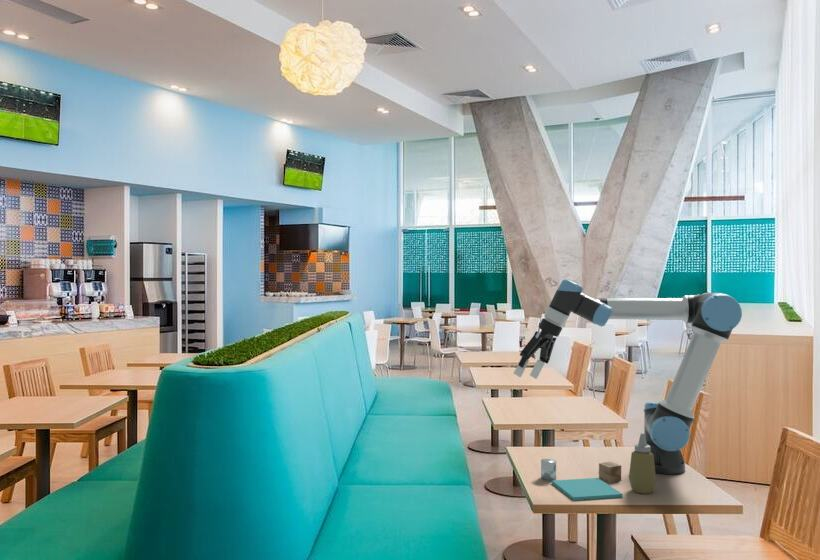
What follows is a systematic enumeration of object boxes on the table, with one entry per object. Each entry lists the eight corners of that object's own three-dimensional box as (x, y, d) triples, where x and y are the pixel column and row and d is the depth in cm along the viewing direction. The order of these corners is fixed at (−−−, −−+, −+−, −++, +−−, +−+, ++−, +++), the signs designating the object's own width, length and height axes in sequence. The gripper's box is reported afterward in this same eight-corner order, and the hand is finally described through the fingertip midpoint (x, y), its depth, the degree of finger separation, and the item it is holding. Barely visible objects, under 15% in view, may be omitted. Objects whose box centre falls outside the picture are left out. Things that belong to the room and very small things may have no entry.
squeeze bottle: (624, 491, 200) (624, 434, 200) (634, 485, 206) (634, 429, 206) (650, 497, 195) (651, 438, 195) (659, 490, 201) (660, 433, 201)
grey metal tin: (552, 476, 216) (552, 458, 216) (558, 480, 211) (558, 462, 211) (538, 477, 215) (538, 459, 215) (544, 481, 210) (544, 463, 210)
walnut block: (610, 476, 216) (610, 461, 216) (621, 480, 211) (621, 465, 211) (598, 478, 214) (599, 463, 214) (609, 482, 209) (609, 467, 209)
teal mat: (597, 480, 211) (597, 477, 211) (622, 497, 195) (622, 493, 195) (551, 483, 208) (551, 480, 208) (573, 500, 192) (573, 497, 192)
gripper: (557, 321, 233) (530, 372, 235) (529, 312, 213) (500, 368, 215) (574, 330, 229) (547, 383, 231) (548, 323, 208) (518, 380, 211)
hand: (525, 376), depth 223 cm, fingers open, 13 cm apart
